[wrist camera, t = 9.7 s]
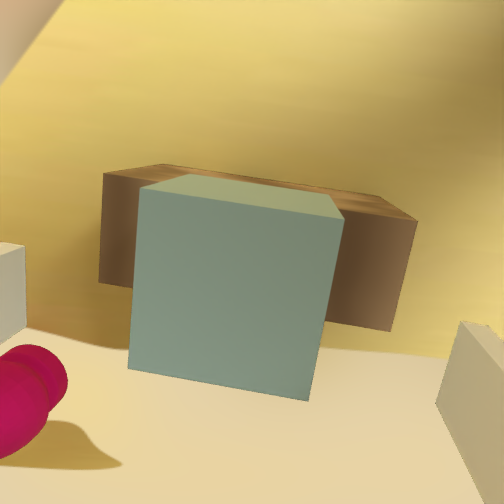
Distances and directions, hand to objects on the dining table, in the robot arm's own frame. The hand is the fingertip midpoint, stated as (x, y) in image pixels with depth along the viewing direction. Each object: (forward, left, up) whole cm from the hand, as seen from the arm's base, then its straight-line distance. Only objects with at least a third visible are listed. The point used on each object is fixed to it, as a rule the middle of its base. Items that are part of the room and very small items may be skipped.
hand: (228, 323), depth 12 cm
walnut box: (0, 0, -19) cm, 19 cm away
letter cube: (0, 0, -9) cm, 9 cm away
